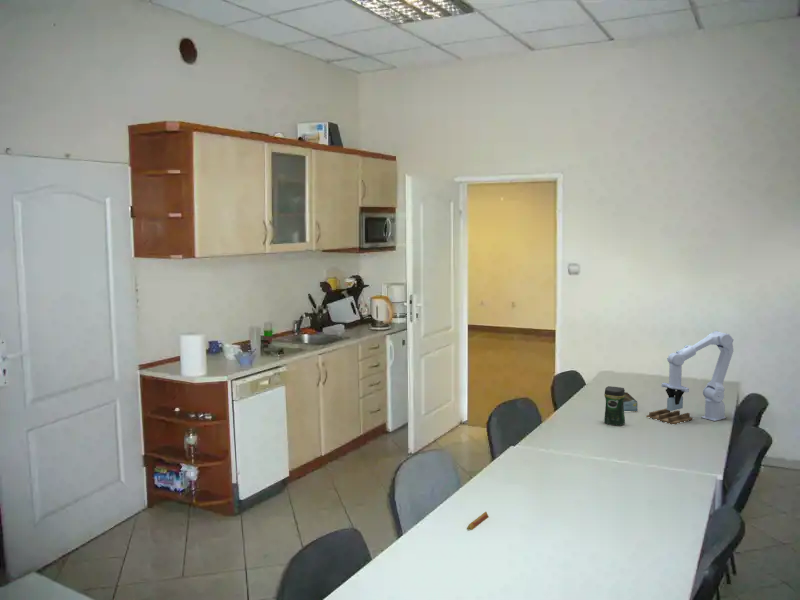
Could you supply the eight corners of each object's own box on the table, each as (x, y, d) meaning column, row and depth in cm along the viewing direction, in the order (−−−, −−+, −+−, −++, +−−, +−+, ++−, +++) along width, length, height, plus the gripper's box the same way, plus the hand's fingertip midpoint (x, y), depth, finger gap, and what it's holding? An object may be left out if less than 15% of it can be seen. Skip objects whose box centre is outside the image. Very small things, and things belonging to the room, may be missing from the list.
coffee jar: (626, 423, 341) (627, 386, 339) (621, 427, 335) (622, 389, 333) (607, 420, 347) (607, 384, 345) (602, 424, 340) (602, 387, 338)
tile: (678, 407, 348) (678, 395, 347) (682, 408, 346) (683, 396, 345) (666, 409, 343) (667, 398, 343) (671, 410, 341) (671, 399, 341)
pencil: (489, 518, 235) (489, 512, 235) (472, 531, 225) (472, 525, 225) (482, 516, 236) (482, 510, 236) (465, 529, 226) (465, 523, 226)
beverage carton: (622, 412, 361) (622, 400, 360) (612, 403, 380) (612, 391, 379) (637, 412, 361) (638, 400, 360) (627, 403, 380) (627, 391, 379)
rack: (665, 412, 358) (665, 407, 358) (692, 419, 345) (692, 414, 344) (646, 417, 350) (646, 411, 350) (673, 424, 337) (673, 418, 336)
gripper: (657, 375, 347) (657, 401, 348) (682, 380, 334) (682, 408, 336) (666, 373, 350) (666, 399, 352) (692, 378, 338) (691, 405, 340)
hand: (674, 403), depth 344 cm, fingers closed on tile, 2 cm apart
